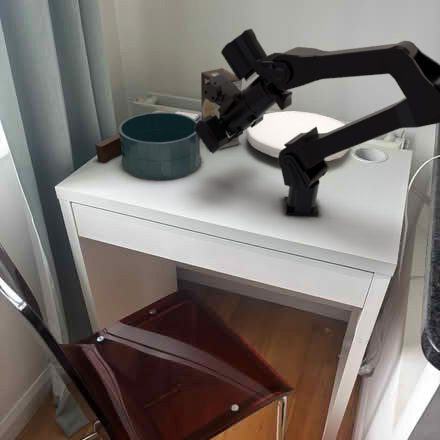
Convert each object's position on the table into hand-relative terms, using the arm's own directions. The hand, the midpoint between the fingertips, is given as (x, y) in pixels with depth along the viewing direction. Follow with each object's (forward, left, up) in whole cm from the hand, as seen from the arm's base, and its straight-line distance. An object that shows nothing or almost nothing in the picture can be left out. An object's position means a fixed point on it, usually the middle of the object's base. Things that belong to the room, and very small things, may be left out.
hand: (206, 143), depth 98 cm
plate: (+18, -22, -8) cm, 30 cm away
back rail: (+12, +21, -8) cm, 26 cm away
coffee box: (+20, -2, -8) cm, 22 cm away
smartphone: (+30, +10, -8) cm, 32 cm away
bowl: (+6, +11, -8) cm, 15 cm away
